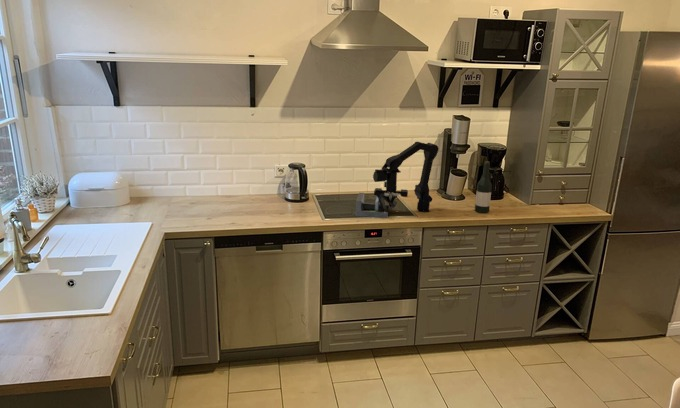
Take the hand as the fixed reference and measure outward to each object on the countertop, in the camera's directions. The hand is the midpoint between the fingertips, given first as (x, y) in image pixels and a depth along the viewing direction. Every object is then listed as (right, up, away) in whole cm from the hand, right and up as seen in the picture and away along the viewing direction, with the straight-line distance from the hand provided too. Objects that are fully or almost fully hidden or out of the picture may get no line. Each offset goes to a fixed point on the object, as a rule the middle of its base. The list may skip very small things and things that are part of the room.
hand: (390, 206), depth 292 cm
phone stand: (0, -1, +2) cm, 2 cm away
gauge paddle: (-8, -4, -1) cm, 9 cm away
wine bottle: (+55, -3, +10) cm, 56 cm away
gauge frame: (-9, -3, +2) cm, 10 cm away
